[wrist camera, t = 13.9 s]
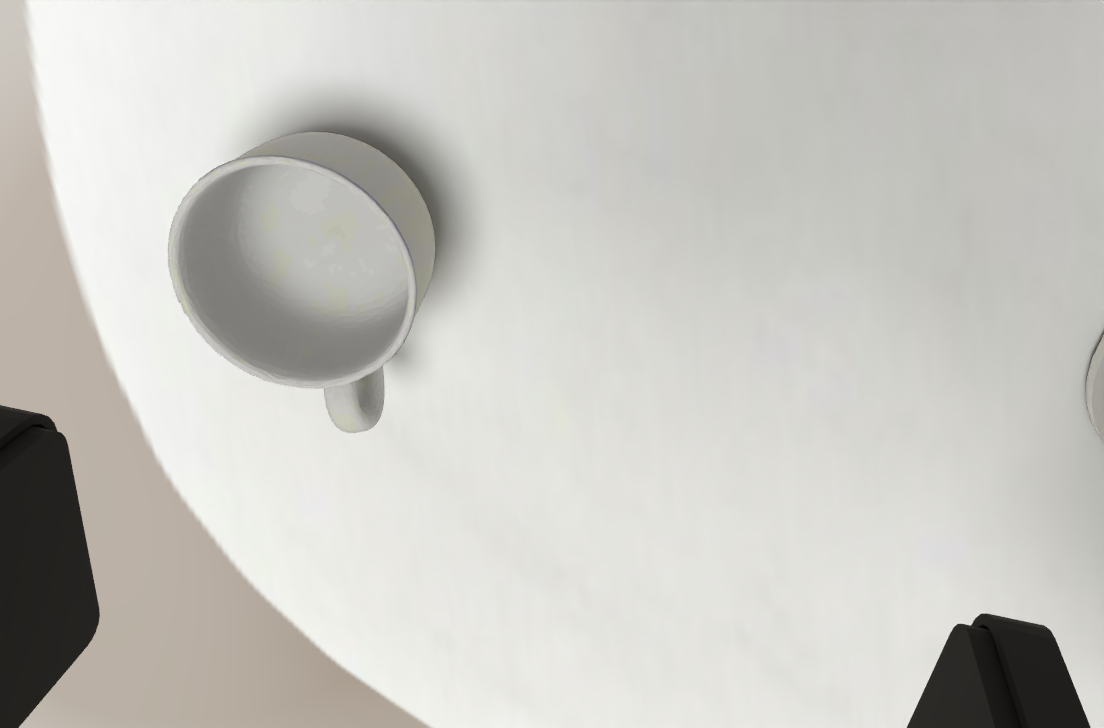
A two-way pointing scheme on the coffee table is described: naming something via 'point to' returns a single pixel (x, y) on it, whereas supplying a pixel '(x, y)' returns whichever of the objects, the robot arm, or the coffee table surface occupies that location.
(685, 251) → the coffee table surface
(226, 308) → the teacup
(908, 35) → the coffee table surface
